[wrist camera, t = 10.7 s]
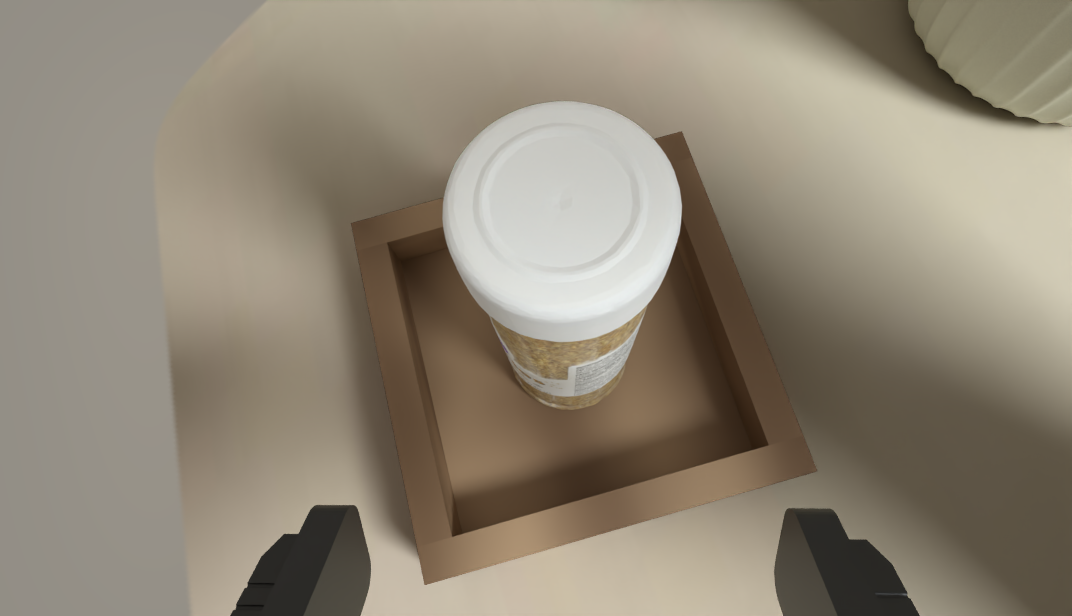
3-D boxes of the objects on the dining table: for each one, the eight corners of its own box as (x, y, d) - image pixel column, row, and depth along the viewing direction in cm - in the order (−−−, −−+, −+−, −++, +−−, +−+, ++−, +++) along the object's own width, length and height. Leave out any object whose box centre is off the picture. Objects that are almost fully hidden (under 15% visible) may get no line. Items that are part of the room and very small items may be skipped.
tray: (670, 169, 27) (681, 131, 25) (788, 474, 24) (817, 471, 21) (374, 252, 27) (350, 223, 24) (443, 574, 23) (424, 584, 20)
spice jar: (489, 338, 25) (392, 170, 12) (585, 276, 25) (592, 50, 12) (553, 437, 23) (522, 368, 11) (652, 370, 24) (739, 227, 11)
